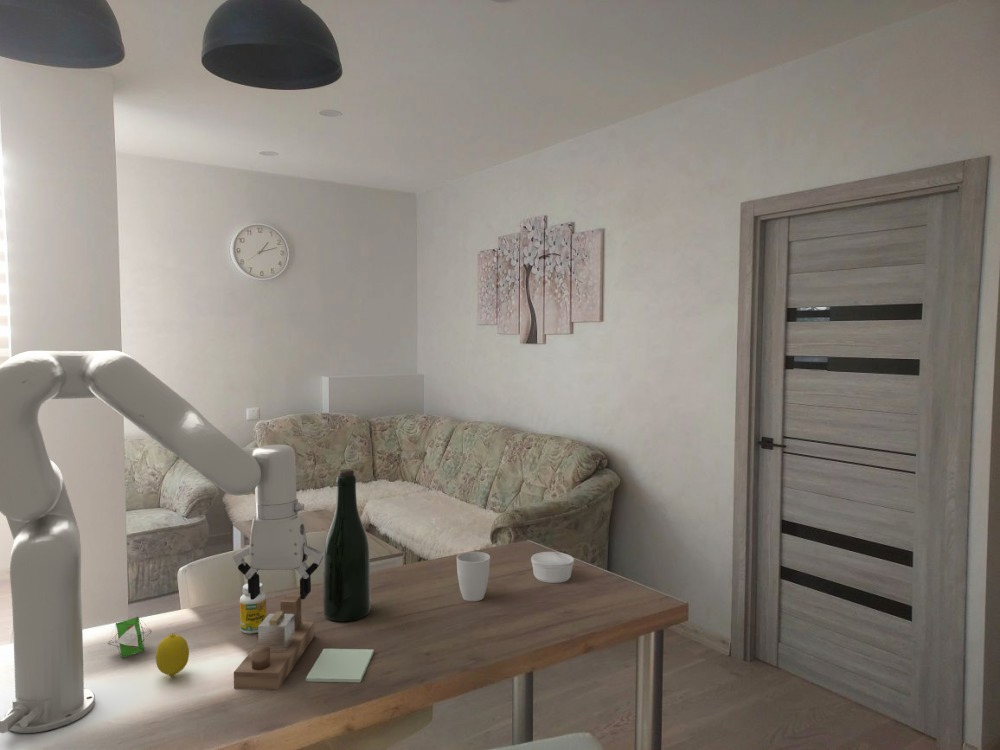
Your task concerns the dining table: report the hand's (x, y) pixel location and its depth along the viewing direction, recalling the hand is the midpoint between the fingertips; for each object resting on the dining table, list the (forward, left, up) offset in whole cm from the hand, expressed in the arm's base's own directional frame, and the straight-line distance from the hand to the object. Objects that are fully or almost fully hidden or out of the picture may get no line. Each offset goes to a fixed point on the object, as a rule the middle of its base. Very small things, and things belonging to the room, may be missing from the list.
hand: (279, 596), depth 134 cm
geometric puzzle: (+2, +31, -13) cm, 33 cm away
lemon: (-7, +18, -13) cm, 23 cm away
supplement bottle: (+14, +11, -13) cm, 21 cm away
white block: (0, +1, -9) cm, 9 cm away
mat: (-2, -12, -12) cm, 18 cm away
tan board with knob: (0, +1, -12) cm, 12 cm away
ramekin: (+49, -55, -13) cm, 75 cm away
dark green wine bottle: (+23, -7, -13) cm, 27 cm away
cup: (+34, -35, -13) cm, 51 cm away
